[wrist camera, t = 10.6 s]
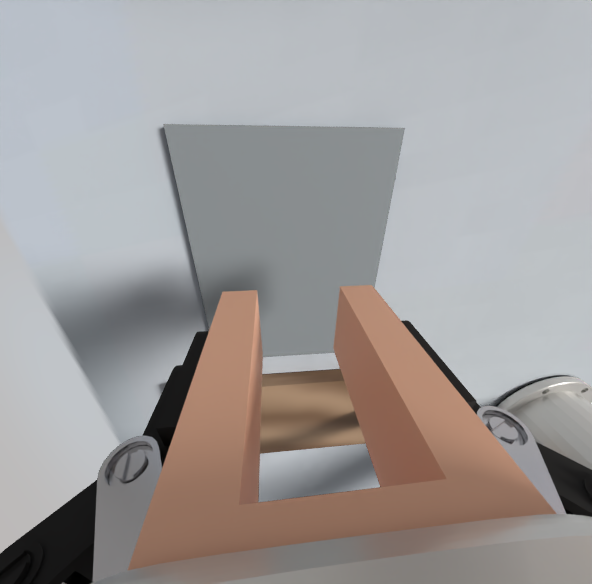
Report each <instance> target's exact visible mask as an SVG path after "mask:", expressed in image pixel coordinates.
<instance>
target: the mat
mask: <svg viewBox="0 0 592 584" xmlns="http://www.w3.org/2000/svg"><path fill="white" fill-rule="evenodd" d="M163 125H164V130H165V134H166V139H167V143H168V148H169V152H170V157H171V161H172V166H173V170H174V174H175V179H176V183H177V188H178V192H179V197H180V201H181V206H182V210H183V215H184V219H185V224H186V228H187V233H188V237H189V242H190V246H191V251H192V255H193V260H194V264H195V269H196V273H197V278H198V282H199V286H200V291H201V295H202V300H203V304H204V309H205V313H206V318H207V322H208V327H209V330H210V327H211V324H212V321H213V318H214V315H215V312H216V309H217V306H218V303H219V301H220V298H221V295H222V292H227V291H249V290H257V294H258V305H259V317H260V328H261V339H262V351H263V357H272V356H288V355H303V354H319V353H335V352H334V349H333V346H334V337H335V328H336V319H337V309H338V300H339V291H340V286H359V285H372V286H373V287H375V282H376V276H377V271H378V266H379V261H380V255H381V250H382V245H383V240H384V234H385V229H386V224H387V219H388V213H389V208H390V203H391V198H392V192H393V187H394V182H395V177H396V171H397V166H398V161H399V156H400V150H401V145H402V140H403V135H404V129H405V128H373V127H309V126H245V125H180V124H163Z"/></svg>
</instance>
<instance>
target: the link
mask: <svg viewBox="0 0 592 584" xmlns="http://www.w3.org/2000/svg"><path fill="white" fill-rule="evenodd" d="M333 349H334V352H335V355H336V358H337V360H338V363H339V366H340V369H341V372H342V375H343V378H344V381H345V384H346V387H347V390H348V393H349V396H350V399H351V402H352V405H353V408H354V410H355V413H356V416H357V419H358V422H359V425H360V428H361V431H362V434H363V437H364V440H365V443H366V446H367V449H368V452H369V455H370V458H371V460H372V463H373V466H374V469H375V472H376V475H377V478H378V481H379V484H380V487H379V488H371V489H363V490H355V491H347V492H339V493H331V494H323V495H315V496H307V497H299V498H291V499H283V500H275V501H267V502H259V503H258V497H259V463H260V429H261V395H262V360H263V351H262V339H261V328H260V317H259V305H258V294H257V290H249V291H227V292H222V295H221V298H220V301H219V303H218V306H217V309H216V312H215V315H214V318H213V321H212V324H211V327H210V330H209V333H208V336H207V339H206V342H205V344H204V347H203V350H202V353H201V356H200V359H199V362H198V365H197V368H196V371H195V374H194V377H193V380H192V383H191V385H190V388H189V391H188V394H187V397H186V400H185V403H184V406H183V409H182V412H181V415H180V418H179V421H178V424H177V426H176V429H175V432H174V435H173V438H172V441H171V444H170V447H169V450H168V453H167V456H166V459H165V462H164V465H163V467H162V470H161V473H160V476H159V479H158V482H157V485H156V488H155V491H154V494H153V497H152V500H151V503H150V506H149V509H148V511H147V514H146V517H145V520H144V523H143V526H142V529H141V532H140V535H139V538H138V541H137V544H136V547H135V550H134V552H133V555H132V558H131V561H130V564H129V567H128V570H133V569H137V568H142V567H146V566H151V565H156V564H161V563H167V562H173V561H180V560H186V559H193V558H199V557H205V556H212V555H218V554H225V553H233V552H240V551H248V550H255V549H263V548H270V547H278V546H285V545H292V544H300V543H307V542H315V541H323V540H330V539H338V538H346V537H354V536H361V535H369V534H377V533H385V532H393V531H400V530H408V529H416V528H424V527H432V526H441V525H449V524H457V523H465V522H473V521H481V520H489V519H499V518H509V517H519V516H529V515H543V514H557V513H556V512H555V511H554V510H553V508H552V507H551V506H550V505H549V504H548V502H547V501H546V500H545V499H544V497H543V496H542V495H541V494H540V492H539V491H538V490H537V489H536V487H535V486H534V485H533V484H532V482H531V481H530V480H529V479H528V478H527V476H526V475H525V474H524V473H523V471H522V470H521V469H520V468H519V466H518V465H517V464H516V463H515V461H514V460H513V459H512V458H511V457H510V455H509V454H508V453H507V452H506V450H505V449H504V448H503V447H502V445H501V444H500V443H499V442H498V440H497V439H496V438H495V437H494V436H493V434H492V433H491V432H490V431H489V429H488V428H487V427H486V426H485V424H484V423H483V422H482V421H481V419H480V418H479V417H478V416H477V414H476V413H475V412H474V411H473V410H472V408H471V407H470V406H469V405H468V403H467V402H466V401H465V400H464V398H463V397H462V396H461V395H460V393H459V392H458V391H457V390H456V389H455V387H454V386H453V385H452V384H451V382H450V381H449V380H448V379H447V377H446V376H445V375H444V374H443V372H442V371H441V370H440V369H439V368H438V366H437V365H436V364H435V363H434V361H433V360H432V359H431V358H430V356H429V355H428V354H427V353H426V351H425V350H424V349H423V348H422V346H421V345H420V344H419V343H418V342H417V340H416V339H415V338H414V337H413V335H412V334H411V333H410V332H409V330H408V329H407V328H406V327H405V325H404V324H403V323H402V322H401V321H400V319H399V318H398V317H397V316H396V314H395V313H394V312H393V311H392V309H391V308H390V307H389V306H388V304H387V303H386V302H385V301H384V300H383V298H382V297H381V296H380V295H379V293H378V292H377V291H376V290H375V288H374V287H373V286H372V285H359V286H340V291H339V300H338V309H337V319H336V328H335V337H334V346H333ZM128 570H127V571H128Z"/></svg>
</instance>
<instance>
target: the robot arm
mask: <svg viewBox="0 0 592 584" xmlns="http://www.w3.org/2000/svg"><path fill="white" fill-rule="evenodd" d="M401 322H402V323H403V324H404V325H405V327H406V328H407V329H408V330H409V332H410V333H411V334H412V335H413V337H414V338H415V339H416V340H417V342H418V343H419V344H420V345H421V346H422V348H423V349H424V350H425V351H426V353H427V354H428V355H429V356H430V358H431V359H432V360H433V361H434V363H435V364H436V365H437V366H438V368H439V369H440V370H441V371H442V372H443V374H444V375H445V376H446V377H447V379H448V380H449V381H450V382H451V384H452V385H453V386H454V387H455V389H456V390H457V391H458V392H459V393H460V395H461V396H462V397H463V398H464V400H465V401H466V402H467V403H468V405H469V406H470V407H471V408H472V410H473V411H474V412H475V413H476V414H477V416H478V417H479V418H480V419H481V421H482V422H483V423H484V424H485V426H486V427H487V428H488V429H489V431H490V432H491V433H492V434H493V436H494V437H495V438H496V439H497V440H498V442H499V443H500V444H501V445H502V447H503V448H504V449H505V450H506V452H507V453H508V454H509V455H510V457H511V458H512V459H513V460H514V461H515V463H516V464H517V465H518V466H519V468H520V469H521V470H522V471H523V473H524V474H525V475H526V476H527V478H528V479H529V480H530V481H531V482H532V484H533V485H534V486H535V487H536V489H537V490H538V491H539V492H540V494H541V495H542V496H543V497H544V499H545V500H546V501H547V502H548V504H549V505H550V506H551V507H552V508H553V510H554V511H555V512H556V513H557V514H543V515H529V516H519V517H509V518H499V519H489V520H481V521H473V522H465V523H457V524H449V525H441V526H432V527H424V528H416V529H408V530H400V531H393V532H385V533H377V534H369V535H361V536H354V537H346V538H338V539H330V540H323V541H315V542H307V543H300V544H292V545H285V546H278V547H270V548H263V549H255V550H248V551H240V552H233V553H225V554H218V555H212V556H205V557H199V558H193V559H186V560H180V561H173V562H167V563H161V564H156V565H151V566H146V567H142V568H137V569H133V570H128V567H129V564H130V561H131V558H132V555H133V552H134V550H135V547H136V544H137V541H138V538H139V535H140V532H141V529H142V526H143V523H144V520H145V517H146V514H147V511H148V509H149V506H150V503H151V500H152V497H153V494H154V491H155V488H156V485H157V482H158V479H159V476H160V473H161V470H162V467H163V465H164V462H165V459H166V456H167V453H168V450H169V447H170V444H171V441H172V438H173V435H174V432H175V429H176V426H177V424H178V421H179V418H180V415H181V412H182V409H183V406H184V403H185V400H186V397H187V394H188V391H189V388H190V385H191V383H192V380H193V377H194V374H195V371H196V368H197V365H198V362H199V359H200V356H201V353H202V350H203V347H204V344H205V342H206V339H207V336H208V333H209V331H204V332H197V333H196V335H195V337H194V339H193V342H192V344H191V346H190V349H189V351H188V353H187V356H186V358H185V360H184V363H183V365H180V366H176V367H174V369H173V371H172V373H171V375H170V377H169V379H168V381H167V384H166V386H165V388H164V390H163V392H162V394H161V397H160V399H159V401H158V403H157V405H156V407H155V410H154V412H153V414H152V416H151V418H150V421H149V423H148V425H147V427H146V429H145V431H144V434H143V436H137V437H134V438H131V439H129V440H127V441H125V442H124V443H122V444H120V445H119V446H118V447H117V448H116V449H114V450H113V451H112V452H111V453H110V454H109V456H108V457H107V458H106V460H105V461H104V462H103V464H102V466H101V468H100V470H99V474H98V478H97V480H96V481H95V482H94V483H92V484H91V485H90V486H89V487H87V488H86V489H84V490H83V491H82V492H80V493H79V494H78V495H77V496H75V497H74V498H72V499H71V500H70V501H68V502H67V503H66V504H65V505H63V506H62V507H60V508H59V509H58V510H57V511H55V512H54V513H53V514H51V515H50V516H49V517H47V518H46V519H45V520H43V521H42V522H41V523H39V524H38V525H37V526H35V527H34V528H33V529H32V530H30V531H29V532H27V533H26V534H25V535H24V536H22V537H21V538H20V539H18V540H17V541H16V542H14V543H13V544H12V545H10V546H9V547H8V548H6V549H5V550H4V551H3V552H2V553H1V554H0V584H592V404H591V403H592V387H591V386H590V385H588V384H587V383H585V382H584V381H582V380H581V379H579V378H576V377H567V376H562V377H553V378H549V379H545V380H542V381H538V382H535V383H533V384H531V385H528V386H526V387H524V388H522V389H520V390H518V391H517V392H515V393H513V394H512V395H510V396H509V397H507V398H506V399H505V400H504V401H503V402H501V403H500V404H499V405H498V406H497V407H494V406H483V407H480V406H479V405H478V404H477V403H476V400H475V399H474V398H473V396H472V395H471V394H470V393H469V392H468V391H467V389H466V388H465V387H464V386H463V385H462V383H461V382H460V381H459V380H458V379H457V377H456V376H455V375H454V374H453V373H452V371H451V370H450V369H449V368H448V367H447V366H446V364H445V363H444V362H443V361H442V360H441V358H440V357H439V356H438V355H437V354H436V352H435V351H434V350H433V349H432V348H431V347H430V345H429V344H428V343H427V342H426V341H425V339H424V338H423V337H422V336H421V335H420V333H419V332H418V331H417V330H416V329H415V328H414V326H413V325H412V324H411V323H410V322H409V321H401ZM127 570H128V571H127Z"/></svg>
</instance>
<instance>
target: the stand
mask: <svg viewBox="0 0 592 584" xmlns="http://www.w3.org/2000/svg"><path fill="white" fill-rule="evenodd" d="M364 443H365V440H364V437H363V434H362V431H361V428H360V425H359V422H358V419H357V416H356V413H355V410H354V408H353V405H352V402H351V399H350V396H349V393H348V390H347V387H346V384H345V381H344V378H343V375H342V372H341V369H335V370H321V371H306V372H292V373H277V374H263V375H262V395H261V429H260V453H270V452H280V451H291V450H301V449H312V448H322V447H332V446H343V445H353V444H364Z"/></svg>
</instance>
